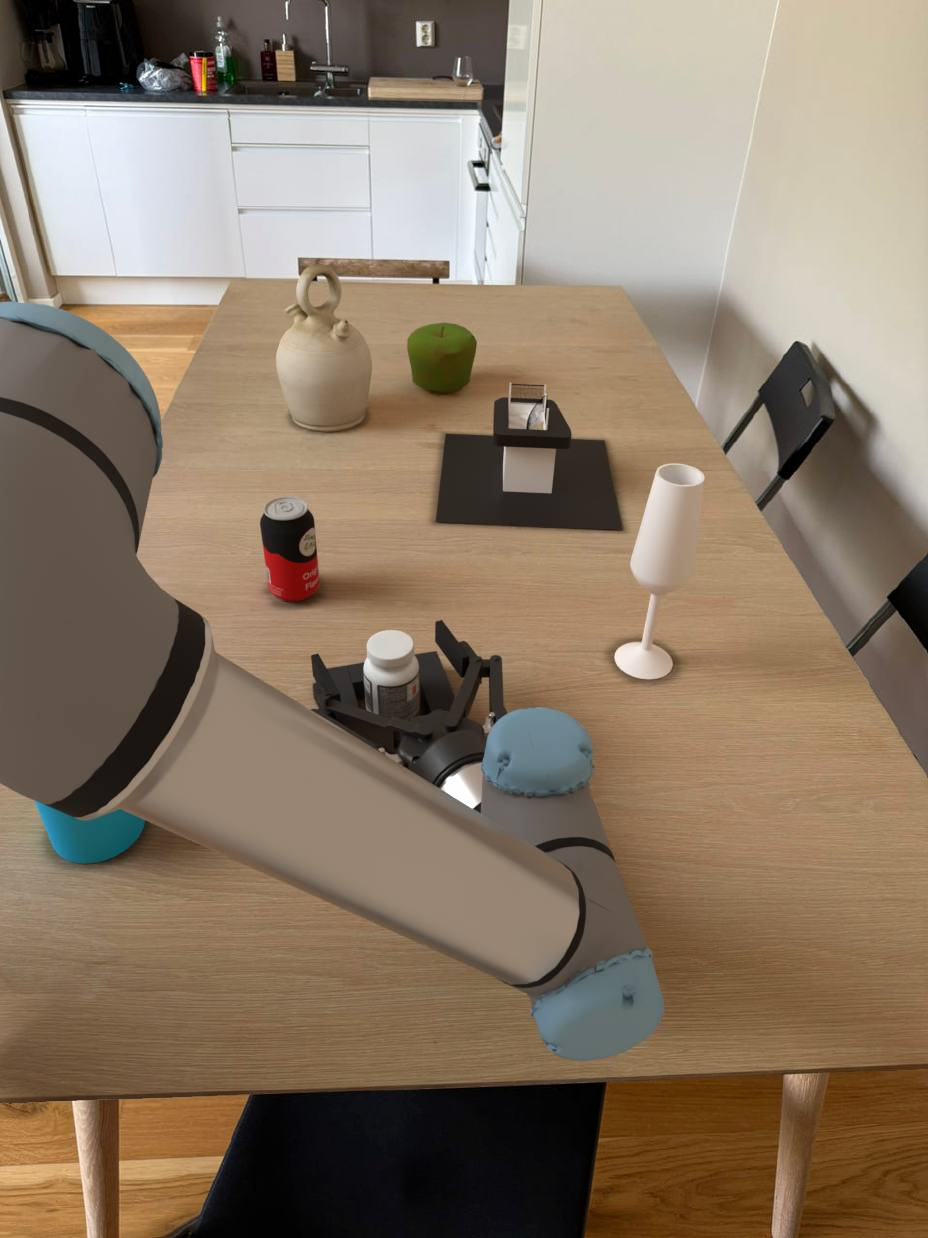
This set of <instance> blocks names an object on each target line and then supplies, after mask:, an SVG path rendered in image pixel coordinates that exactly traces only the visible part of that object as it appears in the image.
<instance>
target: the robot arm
mask: <svg viewBox="0 0 928 1238" xmlns="http://www.w3.org/2000/svg"><path fill="white" fill-rule="evenodd" d="M163 440H164V439H163V435H162V416H161V411H160V407H159V401H158V399H157V396H156V392H155V390H154V388H153V386H152V384H151V381H150V379H149V378H148V376H147V374H146V373H145V371H144V369H143V368H142V367H141V365H140V364H139V363H138V361H137V360H136V358H134V356H133V355H132V354H131V353H130V352H129V351H128V350H127V349H126V348H125V347H124V346H123V345H122V344H121V343H120V342H119V341H118V340H117V339H115V338H114V337H113V336H112V335H110V334H109V333H108V332H107V331H105V330H103V328H101V327H100V326H98V325H96V324H95V323H93V322H91V321H89V320H87V319H85V318H84V317H82V316H80V315H77V314H75V313H73V312H70V311H68V310H65V309H62V308H59V307H55V306H52V305H48V304H42V303H41V304H39V303H34V302H20V301H19V302H18V301H1V302H0V784H1V785H2V786H4V787H6V788H7V789H10V790H11V791H13V792H14V793H16V794H19V795H21V796H23V797H26V798H28V799H30V800H33V801H34V800H35V801H37V802H39V803H42V804H44V805H46V806H49V807H51V808H53V809H55V810H58V811H60V812H62V813H65V814H67V815H69V816H71V817H74V818H77V819H80V820H91V819H95V818H98V817H100V816H103V815H105V814H108V813H111V812H113V811H116V810H118V809H122V810H124V811H126V812H128V813H130V814H133V815H135V816H137V817H139V818H142V819H144V820H145V822H148V823H151V824H153V825H155V826H157V827H159V828H161V829H163V830H166V831H168V832H171V833H173V834H175V835H177V836H179V837H182V838H184V839H186V840H188V841H190V842H192V843H195V844H198V845H199V846H202V847H204V848H207V849H208V850H211V851H213V852H215V853H216V854H220V855H222V856H224V857H226V858H227V859H230V860H232V861H235V862H237V863H240V864H242V865H244V866H246V867H249V868H250V869H253V870H255V871H257V872H259V873H262V874H264V875H266V876H268V877H270V878H272V879H275V880H277V881H279V882H282V883H284V884H286V885H288V886H291V887H293V888H295V889H297V890H300V891H302V892H304V893H306V894H308V895H310V896H313V897H315V898H317V899H319V900H322V901H323V902H326V903H328V904H331V905H333V906H335V907H337V908H339V909H342V910H344V911H346V912H348V913H351V914H353V915H355V916H357V917H360V918H361V919H364V920H366V921H369V922H370V923H373V924H374V925H376V926H379V927H381V928H384V929H387V930H388V931H391V932H393V933H395V934H396V935H400V936H402V937H403V938H406V939H408V940H410V941H412V942H415V943H417V944H419V945H422V946H424V947H426V948H428V949H430V950H433V951H435V952H437V953H440V954H442V955H444V956H446V957H448V958H450V959H453V960H455V961H457V962H459V963H461V964H463V965H466V966H469V967H470V968H472V969H475V970H477V971H478V972H482V973H484V974H486V975H488V976H491V977H492V978H495V979H497V980H499V981H500V982H502V983H503V984H506V985H508V986H510V987H512V988H513V989H516V990H518V991H521V992H523V993H524V994H525V995H527V996H528V998H529V1000H530V1005H531V1007H530V1009H529V1012H530V1017H531V1018H532V1019H533V1020H534V1021H535V1024H536V1026H537V1030H538V1033H539V1037H540V1040H541V1041H542V1043H543V1044H544V1045H545V1046H546V1048H547V1050H548V1051H550V1052H551V1053H552V1054H554V1055H556V1056H557V1057H559V1058H562V1059H565V1060H571V1061H582V1062H585V1061H597V1060H601V1059H607V1058H610V1057H614V1056H617V1055H620V1054H622V1053H624V1052H627V1051H629V1050H630V1049H633V1048H634V1047H636V1046H637V1045H639V1044H641V1043H642V1042H644V1041H646V1039H648V1038H649V1037H650V1036H651V1035H653V1033H654V1032H655V1031H656V1030H657V1028H658V1027H659V1026H660V1023H661V1021H662V1019H663V1016H664V1013H665V1000H664V995H663V992H662V989H661V986H660V982H659V979H658V975H657V972H656V968H655V966H654V962H653V960H654V954H653V951H652V950H651V948H649V946H648V944H647V942H646V938H645V936H644V933H643V931H642V928H641V926H640V923H639V921H638V918H637V917H638V916H637V915H636V913H635V910H634V908H633V904H632V902H631V899H630V896H629V893H628V891H627V889H626V886H625V884H624V881H623V879H622V876H621V873H620V870H619V868H618V866H617V862H616V860H615V856H614V853H613V851H612V848H611V845H610V842H609V839H608V837H607V833H606V831H605V828H604V825H603V823H602V820H601V817H600V814H599V812H598V808H597V805H596V803H595V801H594V798H593V795H592V792H591V785H590V781H591V779H592V777H594V776H593V775H594V770H595V764H594V762H593V760H594V759H593V758H594V746H593V741H592V737H591V735H590V733H589V732H588V730H587V729H586V728H585V727H584V725H582V723H581V722H580V721H578V719H576V718H574V717H573V716H571V715H570V714H568V713H565V712H563V711H561V710H558V709H554V708H551V707H544V706H536V707H527V708H519V709H515V710H512V711H509V712H508V711H507V709H506V707H505V701H504V678H503V676H504V675H503V658H502V657H501V656H500V655H497V654H493V655H490V657H489V658H483V657H482V656H479V655H478V654H477V653H476V652H475V650H474V649H473V647H471V646H470V644H469V643H468V642H467V641H465V640H462V641H458V639H457V638H456V637H455V635H454V634H453V633H452V631H451V630H450V629H449V627H448V626H447V625H446V623H445V622H444V621H443V619H440V620H436V621H435V622H434V623H435V624H434V625H435V626H434V627H435V628H434V642H435V644H436V645H437V647H438V648H439V650H440V651H441V652H442V653H443V655H444V656H445V658H446V660H447V661H448V662H449V663H450V665H451V666H452V667H453V668H454V670H455V671H456V673H457V674H458V676H459V677H460V678H461V679H462V681H461V684H460V686H459V689H458V692H457V694H456V696H455V699H454V701H453V704H452V706H451V709H450V711H442V710H441V709H439V710H436V711H433V712H431V713H429V714H428V715H426V714H423V715H419V716H416V717H413V718H411V721H407V720H404V719H401V718H398V717H393V718H391V719H390V718H387V717H384V716H381V715H378V714H375V713H372V712H369V711H366V709H363V708H361V707H359V708H357V707H354V706H352V705H349V704H346V703H343V702H341V696H340V692H339V690H338V688H337V687H336V685H335V683H334V681H333V679H332V678H331V676H330V674H329V672H328V670H327V667H326V664H325V663H324V661H323V659H322V658H321V655H320V653H318V652H317V653H314V654H311V655H310V661H311V670H312V671H311V673H312V677H313V679H314V681H315V682H314V683H312V694H313V699H314V702H315V704H316V706H317V707H318V708H309V707H307V706H305V705H304V704H302V703H301V702H299V701H297V700H295V699H294V698H292V697H290V696H289V695H287V694H286V693H284V692H282V691H280V690H279V689H277V688H275V687H274V686H272V685H271V684H269V683H267V682H266V681H264V680H263V679H261V678H259V677H258V676H256V675H255V674H253V673H251V672H249V671H248V670H246V669H245V668H243V667H241V666H239V665H238V664H236V663H234V662H233V661H231V660H230V659H228V658H227V657H225V656H223V655H221V654H220V653H218V652H217V651H216V649H215V643H214V639H213V633H212V626H211V624H210V623H209V620H208V619H207V618H206V617H205V616H203V615H202V614H200V612H197V611H196V610H194V609H192V608H191V607H189V606H188V605H186V604H185V603H183V602H181V601H179V600H178V599H176V598H175V597H173V596H172V595H171V594H169V593H168V592H167V591H166V590H164V589H163V588H162V587H160V585H159V584H158V583H157V582H156V581H155V580H154V579H153V577H151V576H150V574H149V573H148V571H147V570H146V569H145V567H144V566H143V564H142V563H141V561H140V559H139V558H138V555H137V554H138V551H139V546H140V542H141V536H142V531H143V527H144V522H145V517H146V513H147V507H148V502H149V498H150V493H151V488H152V484H153V478H155V477H156V475H157V474H158V472H159V470H160V467H161V463H162V460H163V448H164V441H163ZM484 678H485V679H486V678H488V704H489V705H488V707H489V708H488V709H489V714H488V715H487V716H486V717H485V721H484V722H485V723H484V724H483V725H482V724H481V723H479V722H478V721H475V720H472V719H470V718H469V716H470V714H471V713H470V712H471V710H472V707H473V705H474V702H475V699H476V696H477V693H478V690H479V687H480V686H481V685H482V683H483V682H482V681H483V679H484ZM399 732H400V733H403V734H402V737H401V740H400V735H399ZM367 739H368V740H367ZM369 740H370V741H373V742H376V743H379V744H382V745H384V746H386V747H387V749H388V750H389V751H391V752H394V753H397V754H393V755H392V754H389V753H387V752H386V751H385V749H384V748H379V749H378V748H377V747H376V746H375V745H374V744H373V743H372V742H370V741H369ZM35 801H34V802H35Z"/></svg>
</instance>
